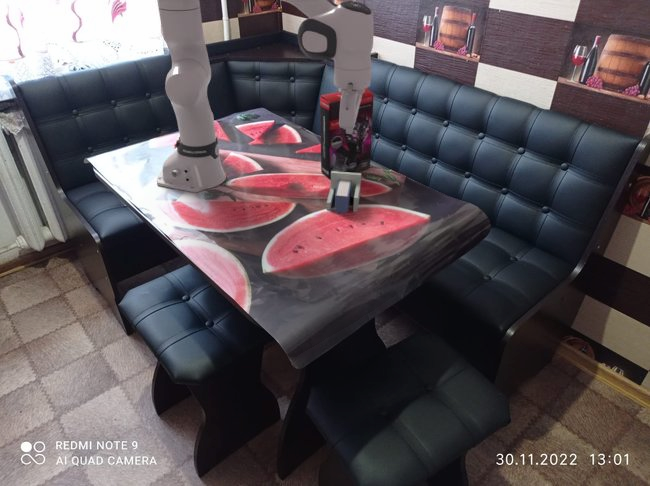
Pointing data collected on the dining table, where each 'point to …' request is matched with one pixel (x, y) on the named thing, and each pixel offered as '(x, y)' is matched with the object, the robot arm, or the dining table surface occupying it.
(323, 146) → the graphics card box
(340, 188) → the book
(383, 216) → the dining table surface
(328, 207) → the bracket
